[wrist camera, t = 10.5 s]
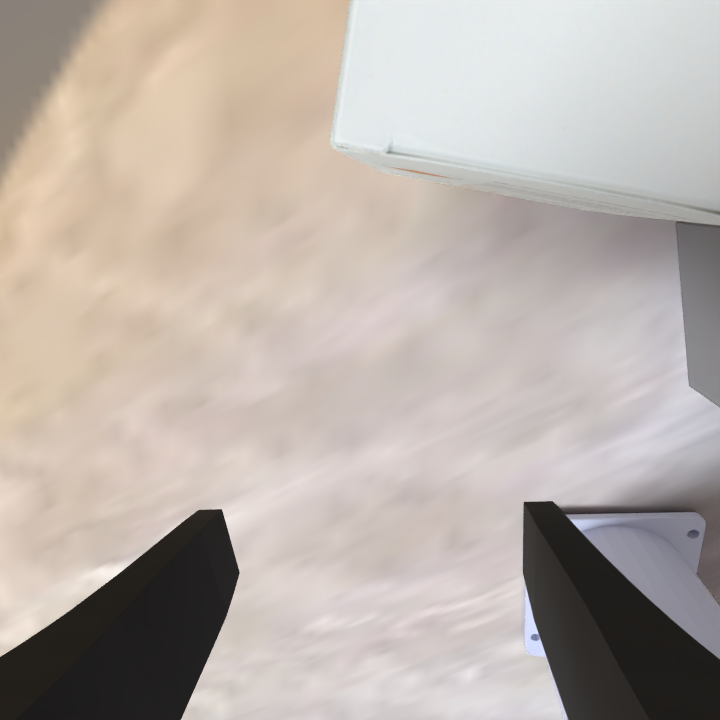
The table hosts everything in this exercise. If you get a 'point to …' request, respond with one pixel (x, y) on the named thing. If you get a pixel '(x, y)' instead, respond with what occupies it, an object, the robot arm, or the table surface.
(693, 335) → the charcoal base block
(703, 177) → the small box
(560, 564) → the robot arm
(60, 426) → the table surface
